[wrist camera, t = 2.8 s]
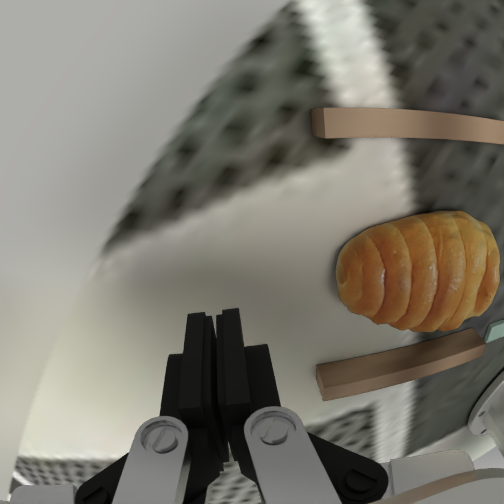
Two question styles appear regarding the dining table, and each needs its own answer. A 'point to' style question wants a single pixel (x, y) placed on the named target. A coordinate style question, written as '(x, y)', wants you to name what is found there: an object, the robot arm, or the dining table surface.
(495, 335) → the strips
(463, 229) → the pastry
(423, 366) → the chute
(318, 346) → the dining table surface
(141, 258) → the dining table surface
